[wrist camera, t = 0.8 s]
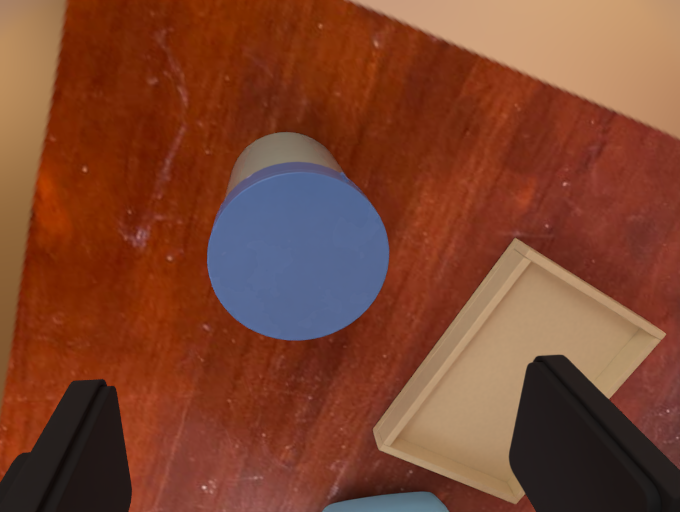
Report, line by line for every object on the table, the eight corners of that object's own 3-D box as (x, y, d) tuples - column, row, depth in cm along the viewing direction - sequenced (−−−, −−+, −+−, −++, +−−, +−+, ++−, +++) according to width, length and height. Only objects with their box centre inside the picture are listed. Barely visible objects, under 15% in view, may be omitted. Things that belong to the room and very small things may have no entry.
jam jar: (264, 109, 27) (266, 140, 18) (363, 169, 30) (414, 226, 20) (209, 210, 29) (182, 288, 19) (306, 260, 31) (327, 354, 21)
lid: (265, 125, 19) (265, 133, 17) (411, 212, 21) (424, 227, 19) (181, 275, 21) (174, 296, 19) (324, 341, 23) (330, 365, 21)
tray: (514, 237, 33) (530, 248, 31) (645, 319, 37) (667, 334, 35) (372, 429, 37) (378, 450, 35) (503, 483, 41) (515, 504, 39)
